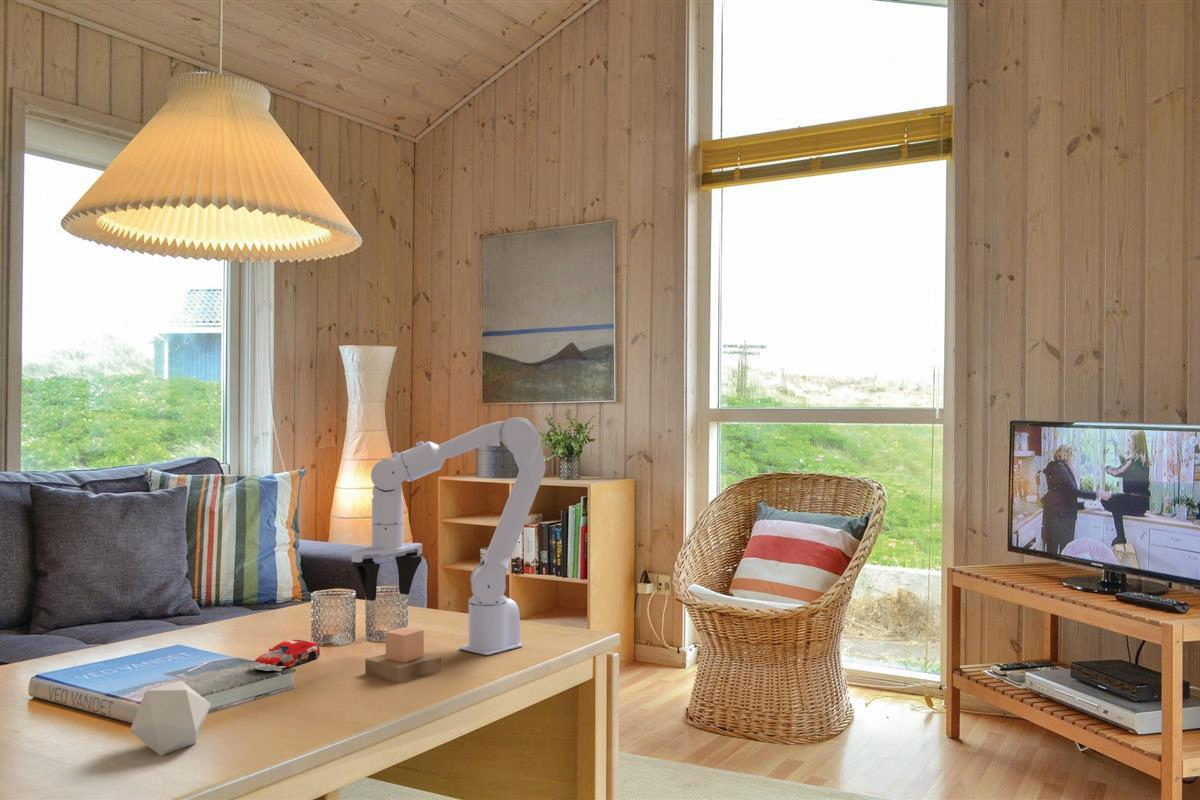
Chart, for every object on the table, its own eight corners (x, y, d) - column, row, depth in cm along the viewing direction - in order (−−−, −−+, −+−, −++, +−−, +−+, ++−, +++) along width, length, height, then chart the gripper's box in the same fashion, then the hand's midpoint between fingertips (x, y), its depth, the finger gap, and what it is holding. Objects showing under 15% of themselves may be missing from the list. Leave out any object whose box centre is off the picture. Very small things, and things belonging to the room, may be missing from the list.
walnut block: (407, 665, 166) (407, 648, 166) (440, 674, 160) (440, 657, 160) (365, 676, 159) (365, 658, 159) (398, 686, 153) (398, 667, 153)
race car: (270, 677, 159) (269, 653, 159) (247, 673, 161) (246, 650, 161) (325, 658, 171) (325, 636, 171) (303, 655, 173) (303, 633, 173)
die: (210, 758, 121) (228, 683, 128) (149, 739, 116) (171, 662, 122) (170, 770, 125) (190, 697, 132) (109, 753, 120) (133, 677, 126)
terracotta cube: (405, 653, 163) (405, 627, 163) (423, 656, 160) (423, 630, 160) (385, 658, 159) (385, 632, 159) (404, 662, 157) (404, 635, 157)
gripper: (405, 518, 182) (405, 588, 181) (341, 525, 171) (341, 600, 170) (429, 521, 177) (429, 593, 177) (364, 528, 166) (364, 604, 166)
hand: (387, 596), depth 173 cm, fingers open, 7 cm apart
